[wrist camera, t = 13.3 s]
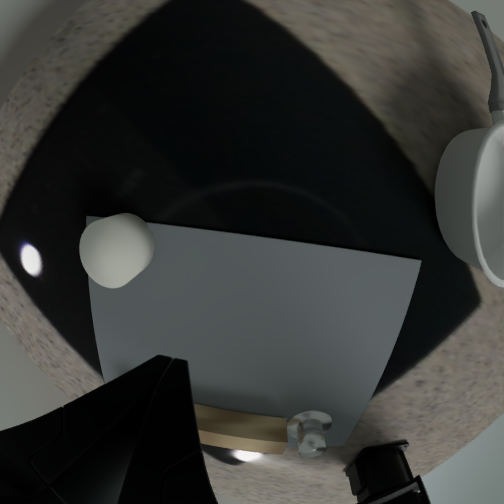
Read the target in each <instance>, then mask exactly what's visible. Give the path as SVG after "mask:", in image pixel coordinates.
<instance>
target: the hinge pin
mask: <svg viewBox="0 0 504 504" xmlns="http://www.w3.org/2000/svg"><path fill="white" fill-rule="evenodd" d="M331 426H332V418H331V416H330V415H329V414H327V413H326V412H323V411H317V410H311V411H305V412H301V413H299V414H296V415H295V416H293V417H292V418H290V419H289V421H288V422H287V433H288V434H289V435H290V436H292V437H294V438H297V439H298V447H299V454H300V455H301V456H303V457H307V458H311V457H317V456H319V455H321V454H323V453H324V452H325V451H326V443H325V438H324V433H326V432H327V431H328V430H329V429H330V428H331Z"/></svg>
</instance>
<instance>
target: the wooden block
mask: <svg viewBox="0 0 504 504" xmlns="http://www.w3.org/2000/svg"><path fill="white" fill-rule="evenodd" d="M194 407H195V413H196V419H197V425H198V431H199V436H200V442H201V443H203V444H208V445H213V446H218V447H224V448H230V449H236V450H243V451H251V452H260V453H270V454H282V453H283V452H284V450H285V448H286V446H287V444H288V434H287V419H286V418H280V417H270V416H262V415H255V414H248V413H241V412H235V411H229V410H224V409H218V408H213V407H208V406H204V405H199V404H195V403H194Z"/></svg>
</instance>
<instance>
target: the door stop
mask: <svg viewBox="0 0 504 504" xmlns="http://www.w3.org/2000/svg"><path fill="white" fill-rule="evenodd" d="M154 250H155V243H154V238H153V234H152V232H151V230H150V228H149V226H148V225H147V224H146V223H145V221H144V220H142V219H141V218H140V217H138V216H136V215H134V214H131V213H121V214H117V215H114V216H110V217H107V218H104V219H100V220H97V221H94V222H93V223H91V224H90V225H88V227H87V228H86V229H85V230H84V232H83V234H82V237H81V240H80V257H81V261H82V264H83V266H84V269H85V270H86V272H87V273H88V275H89V276H90V277H91V278H92V279H93V280H94V281H95V282H96V283H98V284H99V285H101V286H104V287H107V288H119V287H122V286H124V285H125V284H127V283H128V282H129V281H130V280H131V279H133V278H134V277H135V276H136V275H138V274H139V273H140V272H141V271H143V270H144V269H145V268H146V267H147V266H148V265H149V264H150V262H151V260H152V258H153V255H154Z"/></svg>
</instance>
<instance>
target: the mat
mask: <svg viewBox="0 0 504 504" xmlns="http://www.w3.org/2000/svg"><path fill="white" fill-rule="evenodd" d="M100 219H104V218H103V217H94V216H87V220H86V228H87V227H88V225H90V224H91V223H93V222H94V221H97V220H100ZM145 223H146V224H147V225H148V226H149V228H150V230H151V232H152V234H153V238H154V243H155V250H154V255H153V258H152V260H151V262H150V264H149V265H148V266H147V267H146V268H145V269H144V270H143V271H141V272H140V273H139V274H138V275H136V276H135V277H134V278H133V279H131V280H130V281H129V282H128V283H127V284H125V285H124V286H122V287H119V288H107V287H104V286H101V285H99V284H98V283H96V282H95V281H94V280H93V279H92V278H91V277H90V276H89V275H88V279H89V291H90V301H91V309H92V317H93V324H94V331H95V337H96V343H97V349H98V354H99V359H100V364H101V369H102V373H103V378H104V382H105V384H106V383H107V382H109V381H111V380H113V379H115V378H117V377H119V376H120V375H122V374H124V373H126V372H128V371H129V370H131V369H133V368H135V367H137V366H138V365H140V364H142V363H144V362H145V361H147V360H149V359H151V358H152V357H154V356H156V355H158V354H161V355H165V356H170V357H172V358H180V359H185V360H187V361H188V364H189V372H190V379H191V387H192V394H193V400H194V403H195V404H199V405H204V406H208V407H213V408H218V409H224V410H229V411H235V412H241V413H248V414H255V415H262V416H270V417H280V418H286V419H287V422H288V421H289V419H290V418H292V417H293V416H295V415H296V414H299V413H301V412H305V411H311V410H317V411H323V412H326V413H327V414H329V415H330V416H331V418H332V426H331V428H330V429H329V430H328V431H327V432H326V433H324V438H325V443H326V447H338V446H344V445H345V444H346V442H347V440H348V439H349V437H350V435H351V433H352V432H353V430H354V428H355V427H356V425H357V423H358V421H359V419H360V418H361V416H362V414H363V412H364V410H365V408H366V406H367V404H368V402H369V400H370V398H371V396H372V394H373V392H374V390H375V388H376V386H377V384H378V382H379V380H380V378H381V375H382V373H383V371H384V369H385V366H386V364H387V362H388V359H389V357H390V355H391V352H392V350H393V347H394V345H395V342H396V340H397V337H398V334H399V332H400V329H401V326H402V323H403V321H404V318H405V315H406V312H407V309H408V306H409V303H410V300H411V297H412V293H413V290H414V287H415V283H416V280H417V276H418V272H419V269H420V265H421V260H417V259H411V258H404V257H398V256H392V255H385V254H379V253H372V252H366V251H359V250H352V249H345V248H339V247H332V246H325V245H318V244H311V243H304V242H297V241H290V240H282V239H275V238H268V237H260V236H253V235H245V234H238V233H230V232H222V231H214V230H206V229H198V228H190V227H182V226H174V225H165V224H157V223H148V222H145ZM287 434H288V433H287ZM286 447H298V439H297V438H294V437H292V436H290V435H289V434H288V444H287V446H286Z"/></svg>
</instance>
